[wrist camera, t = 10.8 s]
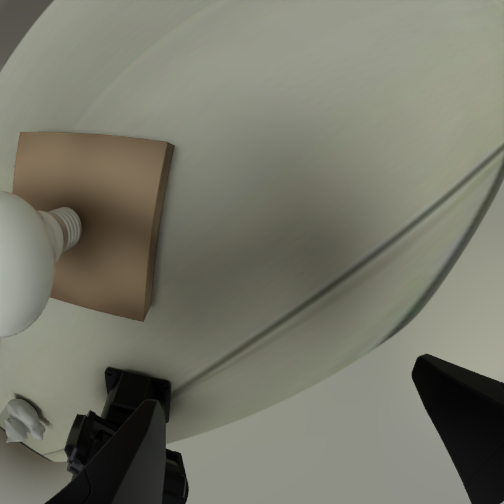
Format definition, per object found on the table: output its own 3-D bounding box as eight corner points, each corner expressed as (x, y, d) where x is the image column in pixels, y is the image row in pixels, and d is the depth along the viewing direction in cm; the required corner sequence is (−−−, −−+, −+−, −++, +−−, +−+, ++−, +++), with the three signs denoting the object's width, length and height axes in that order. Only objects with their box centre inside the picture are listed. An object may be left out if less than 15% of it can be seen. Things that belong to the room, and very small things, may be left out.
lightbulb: (24, 221, 14) (-86, 275, 4) (72, 157, 14) (-62, 165, 3) (74, 287, 16) (-14, 386, 6) (129, 230, 16) (23, 320, 5)
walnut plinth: (150, 305, 20) (143, 321, 18) (30, 274, 18) (15, 285, 16) (174, 145, 17) (167, 142, 15) (38, 133, 15) (20, 132, 12)
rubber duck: (19, 387, 22) (-6, 426, 14) (56, 419, 24) (37, 462, 16) (10, 397, 22) (-11, 433, 15) (44, 427, 24) (27, 465, 17)
